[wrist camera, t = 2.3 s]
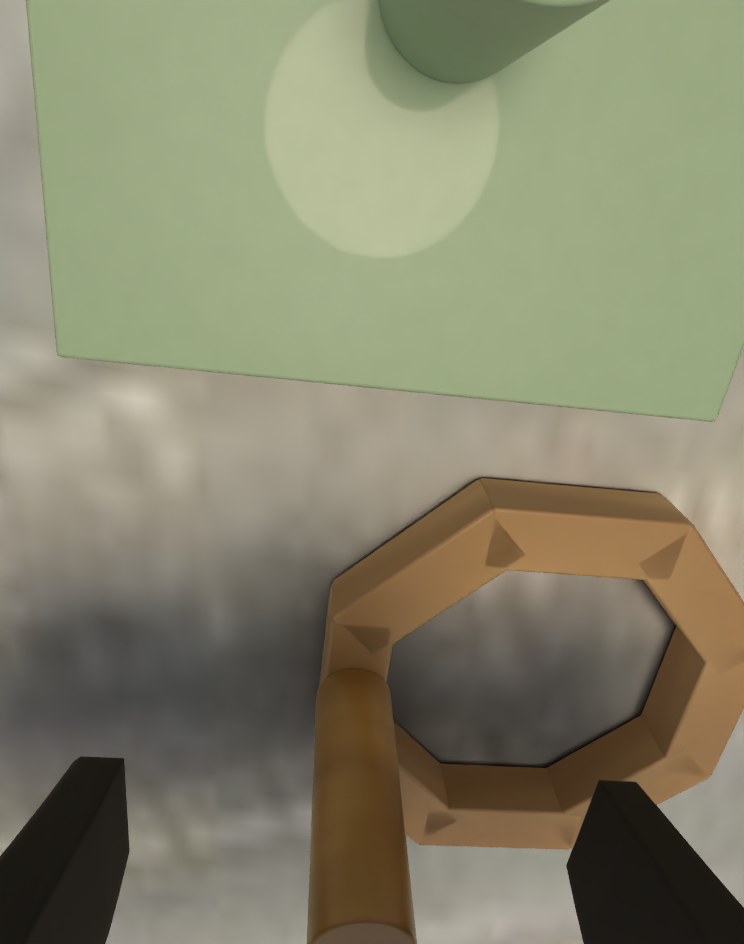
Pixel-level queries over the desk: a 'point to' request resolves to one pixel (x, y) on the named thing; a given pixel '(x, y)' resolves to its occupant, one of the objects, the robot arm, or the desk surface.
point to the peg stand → (401, 193)
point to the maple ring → (502, 787)
